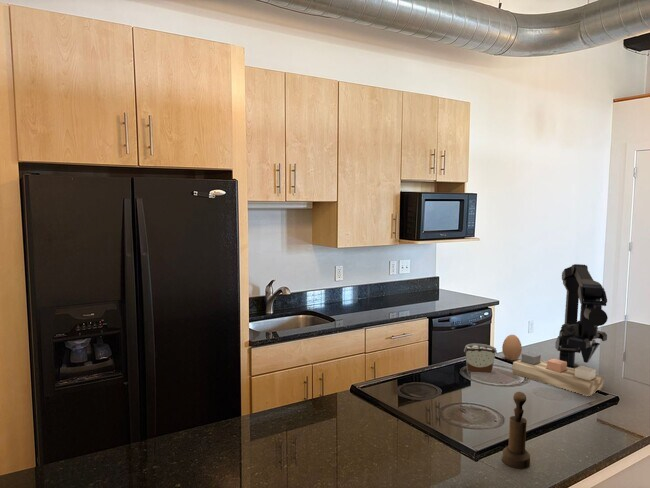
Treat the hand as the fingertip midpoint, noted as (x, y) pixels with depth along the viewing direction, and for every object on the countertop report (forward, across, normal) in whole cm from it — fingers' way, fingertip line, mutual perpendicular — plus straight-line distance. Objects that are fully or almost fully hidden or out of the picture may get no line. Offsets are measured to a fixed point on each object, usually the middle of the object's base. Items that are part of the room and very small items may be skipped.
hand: (585, 362), depth 172 cm
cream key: (+5, 0, 0) cm, 5 cm away
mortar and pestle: (+10, +66, +11) cm, 68 cm away
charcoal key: (+5, 0, -20) cm, 21 cm away
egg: (+10, -9, -33) cm, 36 cm away
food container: (+10, +14, -34) cm, 38 cm away
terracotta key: (+5, 0, -10) cm, 11 cm away
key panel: (+10, 0, -10) cm, 14 cm away
